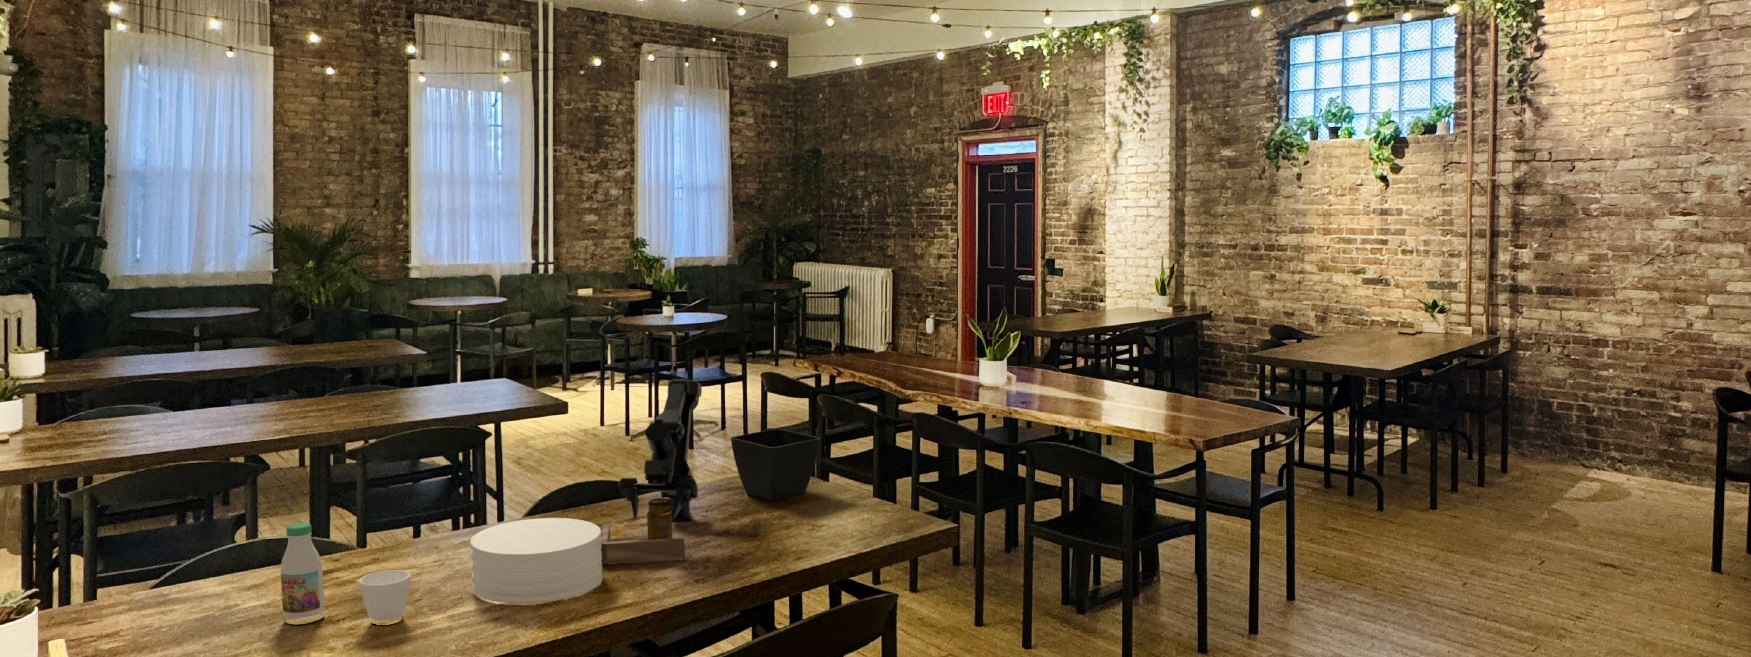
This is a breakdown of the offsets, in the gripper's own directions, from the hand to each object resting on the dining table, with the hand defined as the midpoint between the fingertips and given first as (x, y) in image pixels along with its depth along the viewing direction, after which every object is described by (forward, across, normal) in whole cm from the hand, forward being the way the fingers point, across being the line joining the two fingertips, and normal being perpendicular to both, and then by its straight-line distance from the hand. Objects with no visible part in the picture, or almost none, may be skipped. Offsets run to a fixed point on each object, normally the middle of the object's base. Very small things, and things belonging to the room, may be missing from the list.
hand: (653, 518), depth 287 cm
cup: (+39, -45, -27) cm, 66 cm away
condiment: (+5, +1, +7) cm, 9 cm away
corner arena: (+6, -3, +7) cm, 9 cm away
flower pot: (-34, +23, +46) cm, 62 cm away
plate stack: (+23, -21, -10) cm, 33 cm away
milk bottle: (+39, -62, -27) cm, 78 cm away
